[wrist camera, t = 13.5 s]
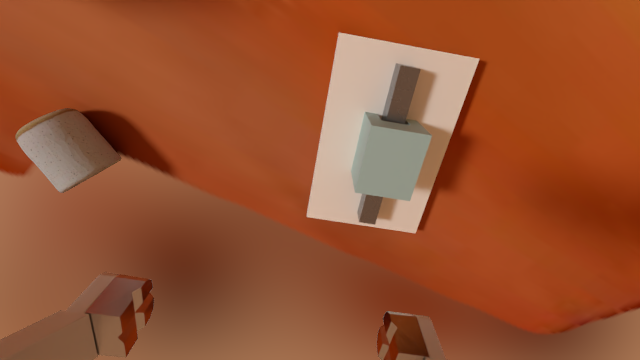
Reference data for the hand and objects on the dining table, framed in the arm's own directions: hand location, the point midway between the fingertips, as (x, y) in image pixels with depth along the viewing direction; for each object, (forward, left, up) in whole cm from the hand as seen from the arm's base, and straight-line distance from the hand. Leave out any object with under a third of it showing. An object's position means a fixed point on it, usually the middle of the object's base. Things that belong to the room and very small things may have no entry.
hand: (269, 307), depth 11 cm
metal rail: (+3, +10, -30) cm, 31 cm away
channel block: (+3, +10, -30) cm, 31 cm away
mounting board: (+3, +10, -31) cm, 33 cm away
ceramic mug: (+10, -29, -31) cm, 44 cm away
